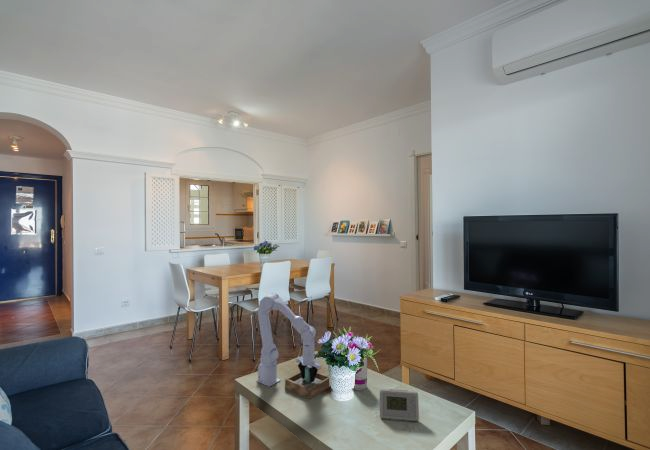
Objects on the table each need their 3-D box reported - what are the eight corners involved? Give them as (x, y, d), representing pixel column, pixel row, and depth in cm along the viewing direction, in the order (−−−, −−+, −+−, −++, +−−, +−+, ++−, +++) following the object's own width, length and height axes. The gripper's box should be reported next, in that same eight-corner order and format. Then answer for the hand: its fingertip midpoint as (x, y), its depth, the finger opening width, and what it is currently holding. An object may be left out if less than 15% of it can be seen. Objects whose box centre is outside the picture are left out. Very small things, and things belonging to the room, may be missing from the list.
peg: (303, 386, 165) (303, 368, 165) (307, 383, 167) (307, 365, 167) (308, 388, 163) (308, 369, 163) (312, 385, 166) (312, 367, 166)
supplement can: (361, 392, 161) (361, 361, 160) (346, 387, 166) (347, 357, 165) (369, 386, 167) (370, 356, 167) (355, 381, 172) (356, 352, 172)
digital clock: (377, 419, 139) (378, 393, 139) (381, 407, 148) (381, 383, 148) (418, 427, 134) (418, 400, 134) (419, 414, 143) (419, 390, 143)
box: (285, 388, 164) (285, 379, 164) (306, 376, 177) (306, 368, 177) (309, 399, 154) (310, 389, 154) (330, 386, 167) (331, 377, 167)
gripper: (292, 351, 166) (291, 378, 167) (314, 358, 158) (314, 387, 158) (301, 347, 172) (301, 373, 172) (324, 354, 163) (323, 382, 163)
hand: (308, 379), depth 165 cm, fingers open, 5 cm apart
